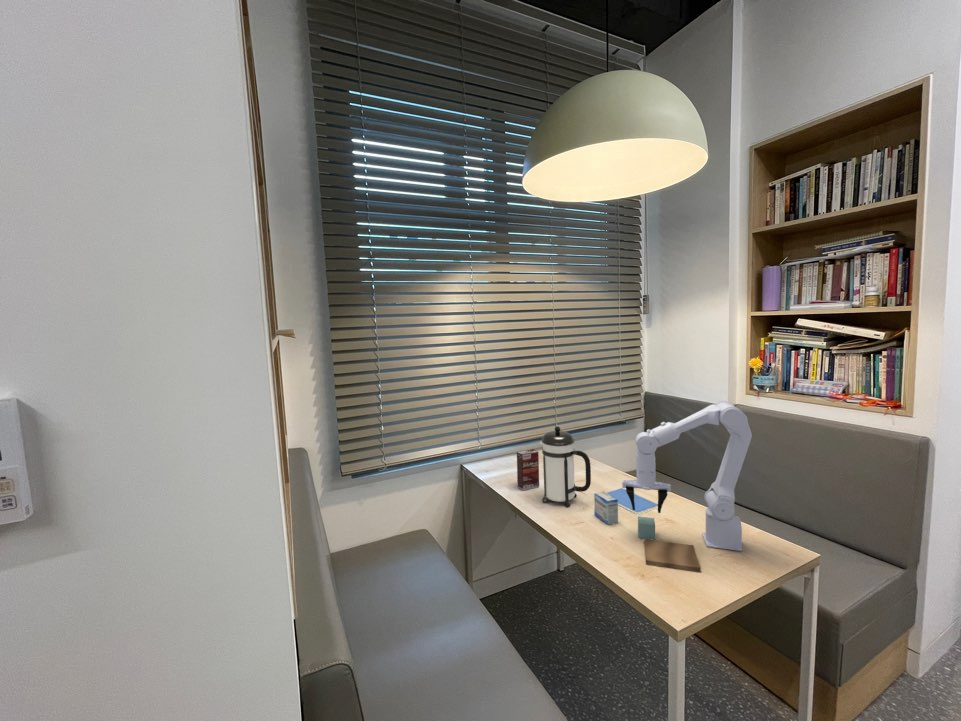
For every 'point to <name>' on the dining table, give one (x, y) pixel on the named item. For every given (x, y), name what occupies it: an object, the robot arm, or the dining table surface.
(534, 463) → the supplement box
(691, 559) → the walnut board
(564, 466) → the coffee press
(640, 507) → the tablet computer
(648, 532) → the teal cube
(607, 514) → the medicine box
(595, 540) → the dining table surface
